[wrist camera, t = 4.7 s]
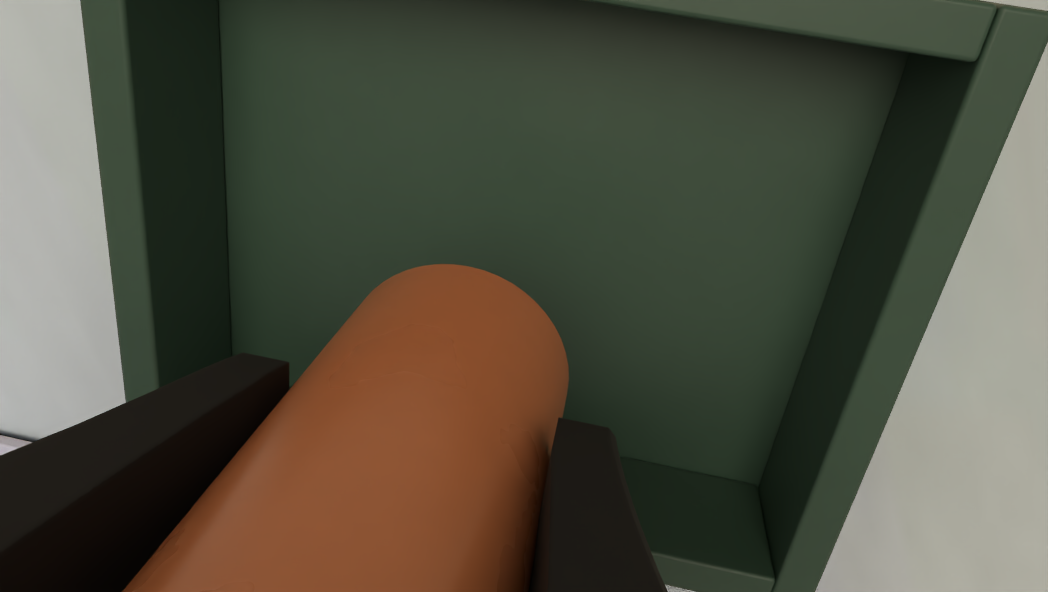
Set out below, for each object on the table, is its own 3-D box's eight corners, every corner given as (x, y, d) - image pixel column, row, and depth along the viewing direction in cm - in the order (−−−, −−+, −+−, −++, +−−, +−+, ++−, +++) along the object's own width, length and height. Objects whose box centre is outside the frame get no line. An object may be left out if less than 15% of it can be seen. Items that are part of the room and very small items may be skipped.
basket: (217, 381, 20) (131, 466, 16) (192, -121, 15) (61, -140, 11) (779, 500, 18) (805, 617, 15) (964, -3, 13) (1062, 13, 10)
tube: (345, 435, 12) (14, 954, 6) (352, 242, 11) (-77, 658, 4) (550, 478, 12) (434, 1072, 6) (587, 286, 10) (487, 798, 4)
